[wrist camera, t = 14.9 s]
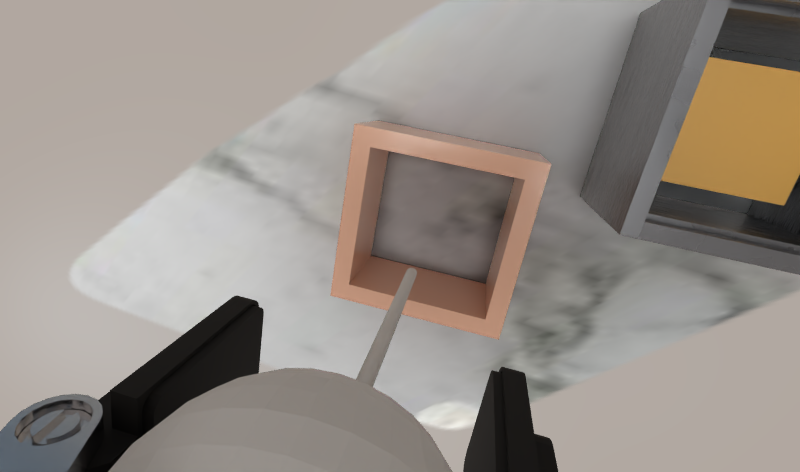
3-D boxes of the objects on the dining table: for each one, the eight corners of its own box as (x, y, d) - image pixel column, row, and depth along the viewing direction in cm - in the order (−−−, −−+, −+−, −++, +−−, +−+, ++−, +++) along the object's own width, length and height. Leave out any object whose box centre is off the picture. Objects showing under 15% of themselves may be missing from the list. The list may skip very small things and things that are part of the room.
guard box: (850, 46, 21) (1058, 12, 13) (758, 234, 24) (882, 293, 16) (640, 13, 22) (720, -35, 14) (579, 196, 25) (619, 234, 18)
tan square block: (786, 83, 21) (846, 79, 18) (738, 190, 23) (783, 205, 20) (671, 64, 22) (706, 56, 18) (633, 169, 24) (658, 179, 20)
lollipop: (374, 350, 19) (69, 1040, 5) (318, 234, 18) (-284, 707, 4) (507, 312, 17) (610, 1202, 3) (454, 181, 16) (265, 691, 2)
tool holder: (539, 152, 25) (551, 164, 20) (496, 300, 28) (498, 339, 24) (378, 120, 26) (354, 123, 22) (355, 265, 29) (330, 295, 25)
